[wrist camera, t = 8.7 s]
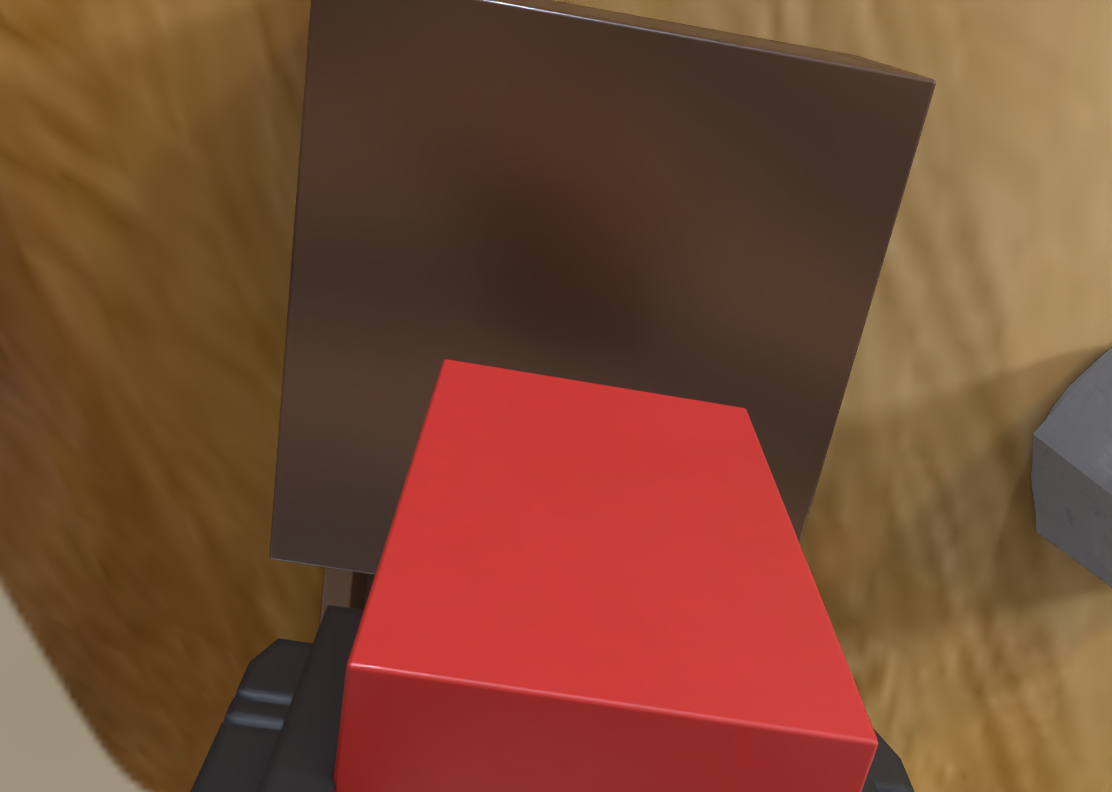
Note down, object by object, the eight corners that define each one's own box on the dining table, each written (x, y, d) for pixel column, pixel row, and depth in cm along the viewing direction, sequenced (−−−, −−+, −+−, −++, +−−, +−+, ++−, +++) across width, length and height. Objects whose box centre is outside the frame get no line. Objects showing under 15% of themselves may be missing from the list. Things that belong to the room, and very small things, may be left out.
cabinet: (737, 516, 34) (773, 636, 28) (322, 452, 34) (268, 560, 28) (860, 56, 29) (938, 80, 23) (368, -33, 28) (312, -33, 22)
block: (407, 615, 19) (302, 1039, 11) (443, 358, 17) (345, 664, 9) (681, 657, 19) (753, 1096, 12) (747, 407, 17) (880, 743, 10)
